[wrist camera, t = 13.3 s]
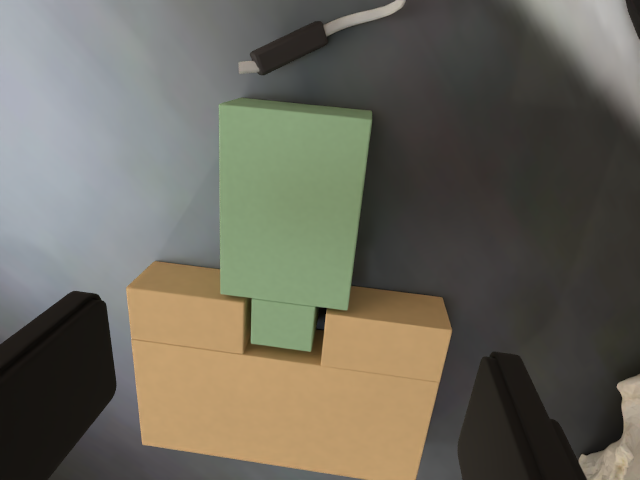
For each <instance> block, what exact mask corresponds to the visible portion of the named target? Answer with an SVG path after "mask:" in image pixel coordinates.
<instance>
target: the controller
mask: <svg viewBox="0 0 640 480" xmlns="http://www.w3.org/2000/svg"><path fill="white" fill-rule="evenodd" d="M626 4H627V8H628V12H629V15H630V17H631V20H632V22H633V25H634V27H635V30H636V33H637V35H638V38H639V39H640V0H626Z"/></svg>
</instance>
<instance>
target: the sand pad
mask: <svg viewBox="0 0 640 480" xmlns="http://www.w3.org/2000/svg"><path fill="white" fill-rule="evenodd" d="M126 291H127V300H128V310H129V319H130V329H131V338H132V339H131V341H132V350H133V360H134V369H135V379H136V388H137V398H138V407H139V417H140V426H141V436H142V444H143V445H149V446H155V447H162V448H168V449H175V450H181V451H187V452H194V453H200V454H207V455H213V456H219V457H226V458H232V459H239V460H245V461H251V462H258V463H264V464H271V465H277V466H283V467H290V468H296V469H303V470H309V471H315V472H322V473H328V474H334V475H341V476H347V477H354V478H360V479H366V480H416V477H417V472H418V468H419V464H420V460H421V456H422V452H423V448H424V444H425V440H426V436H427V432H428V428H429V424H430V419H431V415H432V411H433V407H434V403H435V399H436V395H437V391H438V387H439V382H440V379H441V375H442V371H443V367H444V362H445V358H446V354H447V350H448V346H449V342H450V338H451V334H452V328H451V325H450V321H449V318H448V315H447V311H446V308H445V305H444V301H443V298H442V297H436V296H428V295H420V294H412V293H404V292H396V291H388V290H381V289H373V288H365V287H357V286H351V290H350V298H349V306H348V310H339V309H331V308H327V311H326V319H325V328H324V331H323V330H315V335H314V340H313V345H312V350H311V352H308V351H301V350H294V349H286V348H279V347H272V346H265V345H257V344H251V311H252V298H247V297H239V296H232V295H224V294H221V293H220V269H213V268H205V267H197V266H189V265H181V264H174V263H166V262H158V261H154V262H153V263H152V264H151V265H150V266H149V267H148V268H147V269H146V270H144V271H143V272H142V273H141V274H140V275H139V276H138V277H137V278H136V279H135V280H134V281H133V282H132V283H131V284H129V285H128V286H127V288H126Z"/></svg>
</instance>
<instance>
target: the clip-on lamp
mask: <svg viewBox="0 0 640 480" xmlns="http://www.w3.org/2000/svg"><path fill="white" fill-rule="evenodd" d="M405 2H406V0H396V1H395V2H393V3H391V4H388V5H386V6H384V7H380V8H376V9H372V10H368V11H364V12H359V13H355V14H352V15H348V16H344V17H341V18H339V19H336V20H334V21H331V22H329V23H327V24H325V25H323V24H322V22H319V21H317V22H313V23H311V24H309V25H307V26H305V27H302V28H300V29H298V30H296V31H294V32H292V33H290V34H288V35H286V36H284V37H281V38H279V39H277V40H275V41H273V42H271V43H269V44H267V45H265V46H262V47H260V48H258V49H256V50H254V51H252V52H251V53H250V56H251V58H252V61H244V62H239V74H242V73H255V72H257V73H258V74H259V75H266V74H268V73H270V72H272V71H274V70H276V69H278V68H280V67H282V66H284V65H286V64H288V63H290V62H292V61H294V60H296V59H298V58H300V57H302V56H304V55H306V54H309V53H311V52H313V51H315V50H317V49H319V48H321V47H323V46H325V45H326V44H327V43H328V40H327V36H329V35H331V34H333V33H335V32H337V31H340V30H342V29H345V28H347V27H350V26H354V25H357V24H361V23H364V22H368V21H372V20H376V19H379V18H382V17H385V16H388V15H391V14H393V13H394V12H396V11H398V10H399V9H401V8H402V7H403V5H404V4H405Z"/></svg>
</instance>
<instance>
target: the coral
mask: <svg viewBox="0 0 640 480" xmlns="http://www.w3.org/2000/svg"><path fill="white" fill-rule="evenodd" d="M617 389H618V390H619V392H620V393H621V395H622V404H621V407H622V414H623V420H624V431H623V435H622V437H621V438H620V440H619V441H617V442H615V443H613V444H610V445H609V446H608V447H607V448H606V449H605V450H604V451H599V452H597V453H591V454H589V455H588V456H586V455H583V454H581V456H580V458H579V464H580V466H581V468H582V470H583V472H584V474H585V476H586V478H587V480H640V374H638V375H637V376H634V377H631V378H628V379H626V380H624V381H621V382H619V383H618V384H617Z"/></svg>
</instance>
